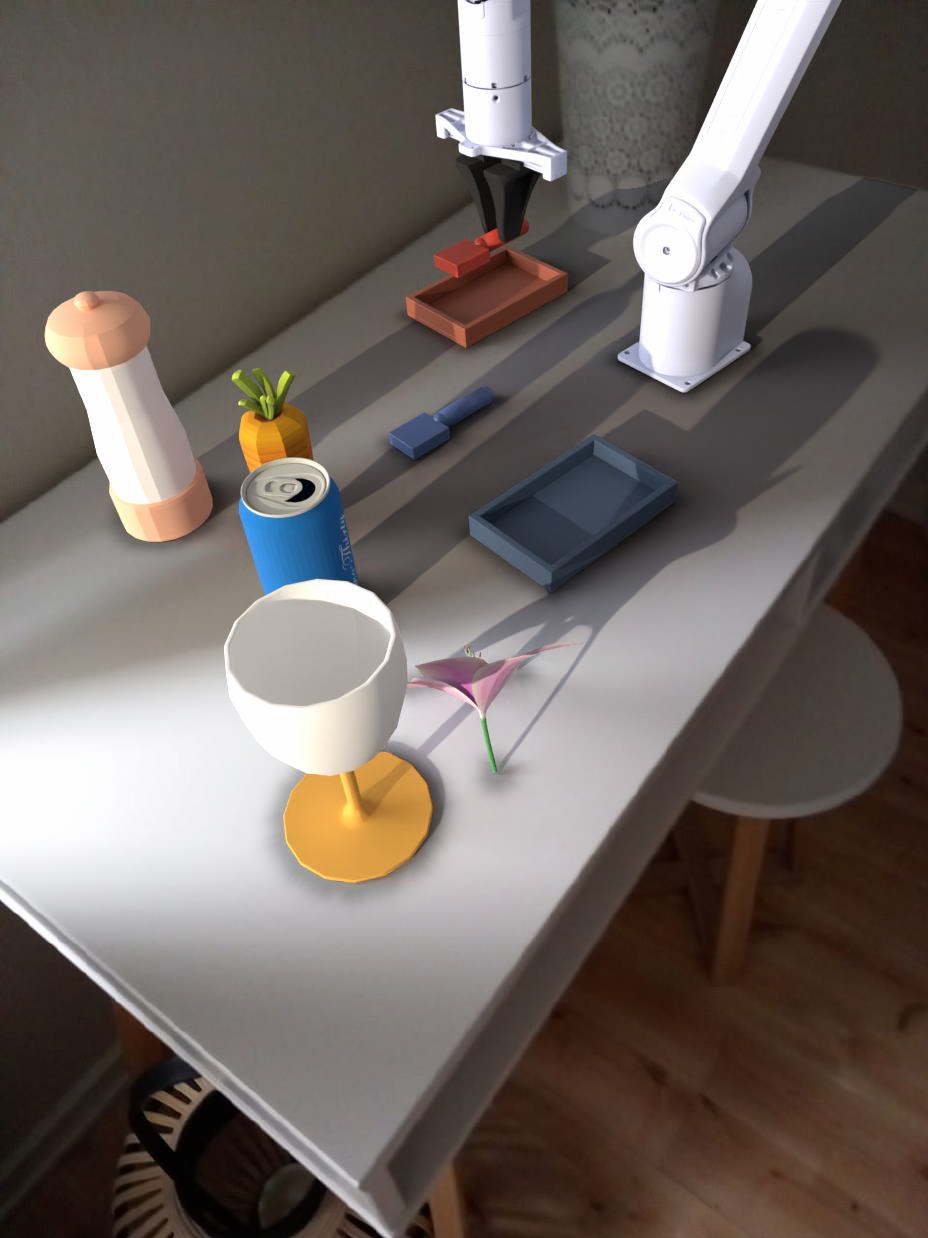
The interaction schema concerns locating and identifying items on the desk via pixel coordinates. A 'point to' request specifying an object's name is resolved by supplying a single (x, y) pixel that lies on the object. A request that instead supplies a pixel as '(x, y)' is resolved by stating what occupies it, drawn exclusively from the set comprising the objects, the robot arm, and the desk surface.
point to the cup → (332, 723)
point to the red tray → (487, 296)
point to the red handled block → (471, 252)
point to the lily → (474, 680)
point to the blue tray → (572, 511)
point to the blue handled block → (437, 424)
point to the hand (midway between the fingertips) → (502, 234)
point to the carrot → (271, 421)
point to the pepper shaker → (130, 415)
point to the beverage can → (295, 524)
